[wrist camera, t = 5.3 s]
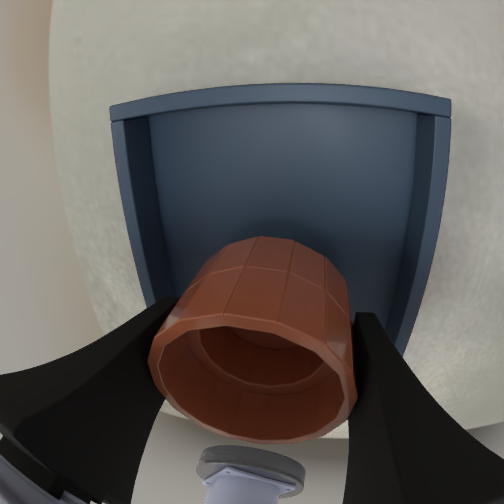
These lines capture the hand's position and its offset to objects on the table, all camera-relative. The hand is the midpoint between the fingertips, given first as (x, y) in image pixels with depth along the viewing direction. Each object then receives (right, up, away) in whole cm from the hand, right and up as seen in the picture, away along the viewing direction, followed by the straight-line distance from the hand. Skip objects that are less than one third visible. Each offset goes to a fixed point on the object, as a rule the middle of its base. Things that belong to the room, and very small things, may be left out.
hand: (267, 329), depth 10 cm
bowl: (0, +1, +1) cm, 2 cm away
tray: (+1, +2, +3) cm, 4 cm away
